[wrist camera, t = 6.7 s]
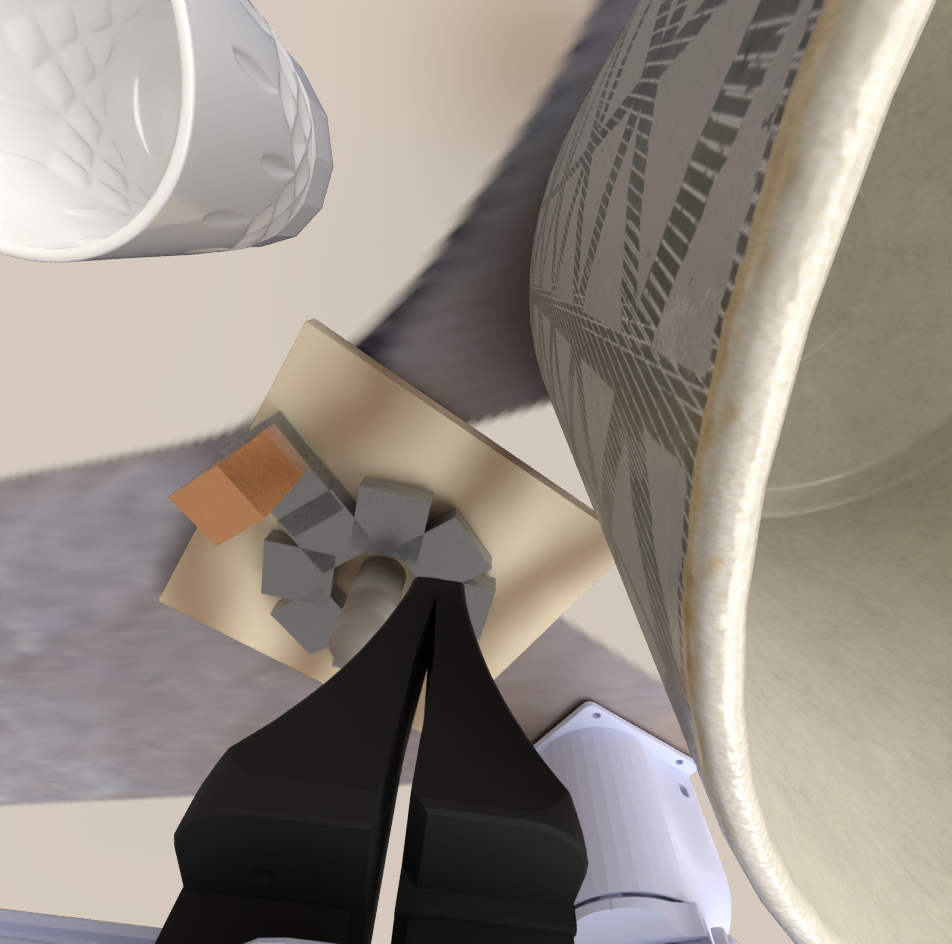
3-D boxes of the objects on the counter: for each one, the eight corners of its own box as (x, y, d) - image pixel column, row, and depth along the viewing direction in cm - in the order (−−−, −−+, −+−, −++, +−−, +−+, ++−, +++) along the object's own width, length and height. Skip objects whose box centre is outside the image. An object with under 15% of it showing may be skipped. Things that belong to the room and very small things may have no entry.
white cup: (260, 303, 20) (58, 340, 11) (96, 131, 17) (-345, -13, 8) (393, 160, 17) (281, 50, 8) (224, -60, 15) (-191, -553, 6)
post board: (628, 534, 24) (668, 616, 18) (434, 724, 30) (421, 826, 25) (314, 318, 20) (245, 340, 14) (169, 589, 26) (84, 675, 21)
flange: (530, 611, 24) (539, 693, 20) (360, 686, 27) (333, 773, 22) (354, 361, 19) (310, 392, 15) (167, 484, 22) (80, 543, 17)
